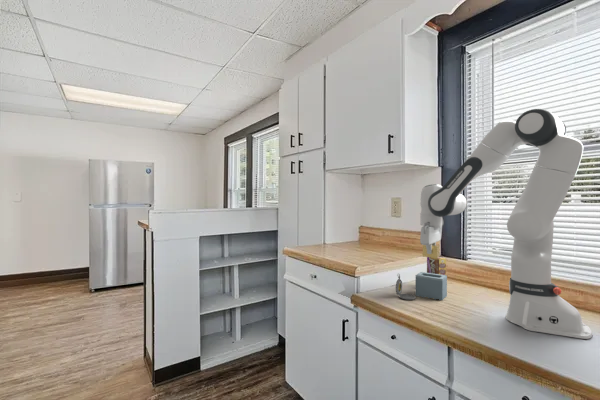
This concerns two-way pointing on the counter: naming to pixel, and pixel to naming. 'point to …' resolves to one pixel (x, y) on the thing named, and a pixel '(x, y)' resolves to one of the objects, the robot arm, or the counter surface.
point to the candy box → (436, 265)
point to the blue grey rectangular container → (431, 285)
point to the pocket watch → (399, 289)
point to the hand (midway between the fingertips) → (431, 253)
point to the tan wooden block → (434, 251)
